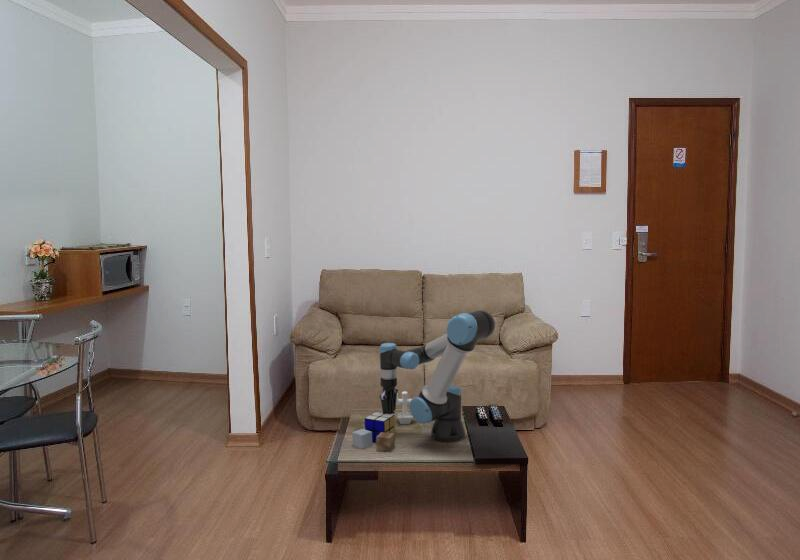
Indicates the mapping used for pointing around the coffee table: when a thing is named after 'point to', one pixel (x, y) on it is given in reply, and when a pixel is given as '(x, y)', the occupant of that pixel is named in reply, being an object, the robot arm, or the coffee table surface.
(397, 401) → the figurine
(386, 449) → the walnut block
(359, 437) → the blue-grey block
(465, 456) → the coffee table surface
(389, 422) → the puzzle cube
